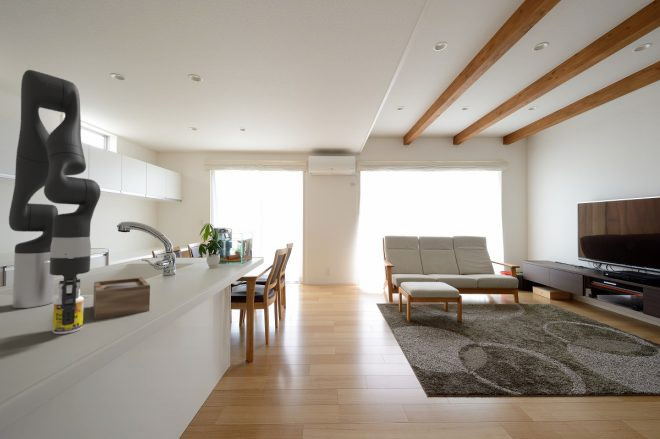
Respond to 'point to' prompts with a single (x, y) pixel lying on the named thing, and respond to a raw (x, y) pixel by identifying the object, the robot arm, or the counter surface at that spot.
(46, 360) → the counter surface
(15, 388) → the counter surface
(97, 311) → the wooden box
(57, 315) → the supplement bottle
